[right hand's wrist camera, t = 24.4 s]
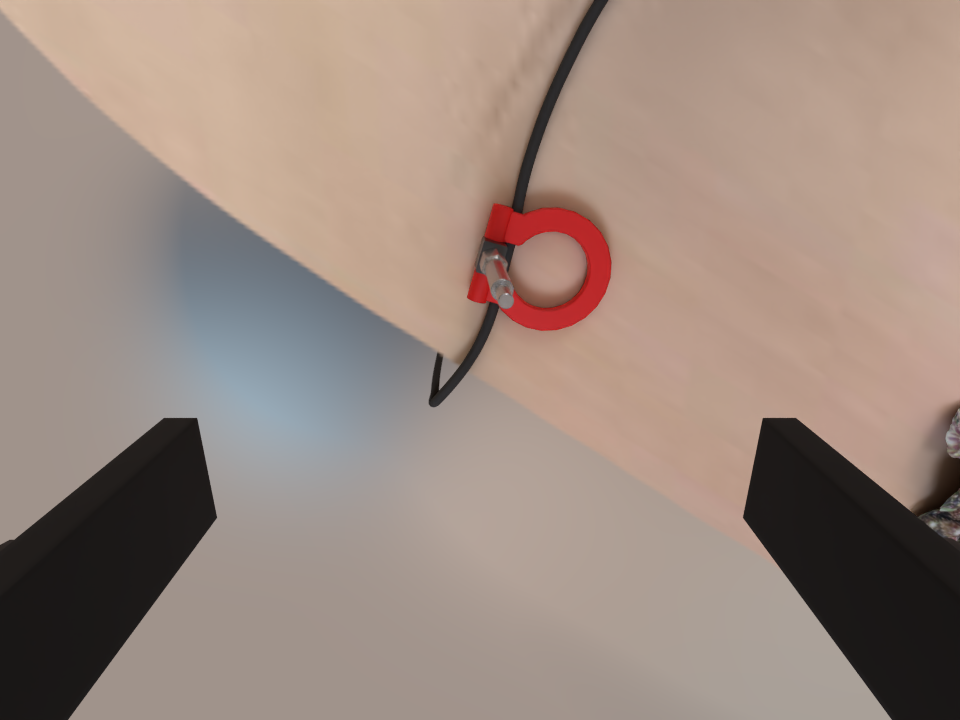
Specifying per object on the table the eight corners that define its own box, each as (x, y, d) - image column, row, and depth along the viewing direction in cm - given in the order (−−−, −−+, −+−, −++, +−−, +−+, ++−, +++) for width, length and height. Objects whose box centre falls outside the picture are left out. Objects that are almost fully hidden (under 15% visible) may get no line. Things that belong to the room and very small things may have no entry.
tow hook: (624, 226, 37) (495, 187, 36) (706, 263, 25) (516, 207, 24) (582, 338, 40) (461, 306, 39) (638, 419, 28) (465, 377, 27)
